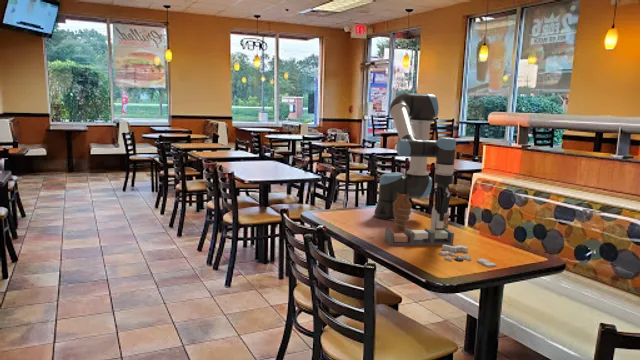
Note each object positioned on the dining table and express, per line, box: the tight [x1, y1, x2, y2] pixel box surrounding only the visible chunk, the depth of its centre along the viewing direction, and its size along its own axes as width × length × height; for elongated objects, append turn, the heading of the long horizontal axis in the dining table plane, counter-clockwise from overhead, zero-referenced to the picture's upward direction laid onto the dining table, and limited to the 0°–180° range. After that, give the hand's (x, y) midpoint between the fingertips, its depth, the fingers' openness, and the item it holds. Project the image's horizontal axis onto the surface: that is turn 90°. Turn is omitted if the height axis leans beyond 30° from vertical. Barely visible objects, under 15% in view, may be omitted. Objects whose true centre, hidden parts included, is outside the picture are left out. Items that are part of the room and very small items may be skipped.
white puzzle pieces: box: [438, 244, 497, 268], centre depth 183 cm, size 20×24×2 cm
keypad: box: [384, 227, 455, 247], centre depth 202 cm, size 8×28×6 cm, turn 99°
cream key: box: [410, 229, 428, 239], centre depth 201 cm, size 5×6×2 cm
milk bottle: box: [429, 203, 450, 230], centre depth 214 cm, size 8×8×20 cm
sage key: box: [431, 230, 448, 239], centre depth 203 cm, size 5×6×2 cm
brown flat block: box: [393, 232, 408, 242], centre depth 200 cm, size 5×6×2 cm
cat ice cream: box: [393, 193, 413, 231], centre depth 220 cm, size 9×8×18 cm
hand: (439, 227), depth 202 cm, fingers closed
